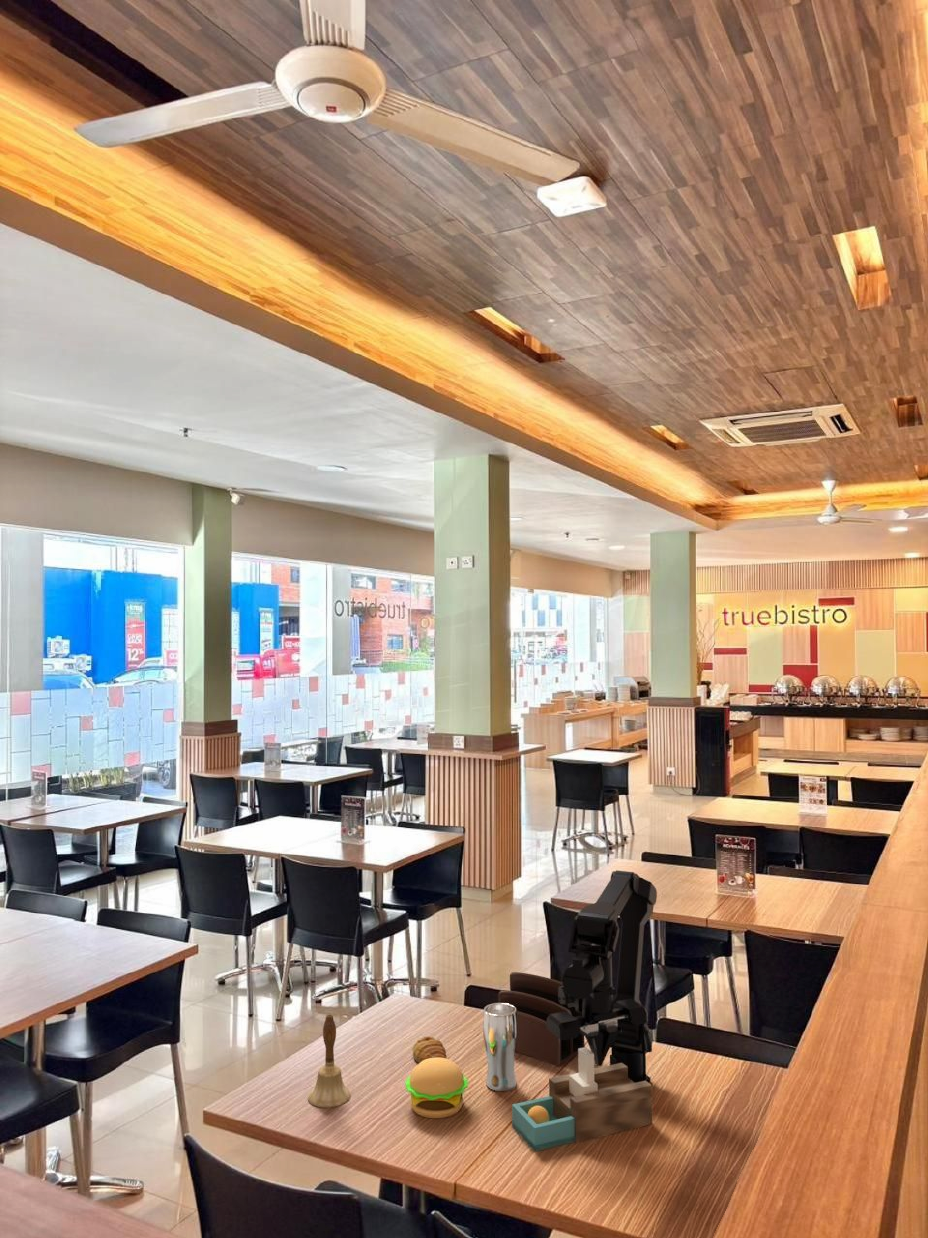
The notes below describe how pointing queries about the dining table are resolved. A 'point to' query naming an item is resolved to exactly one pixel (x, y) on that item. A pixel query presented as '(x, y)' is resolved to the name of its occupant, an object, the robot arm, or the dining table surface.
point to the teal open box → (542, 1125)
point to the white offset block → (583, 1074)
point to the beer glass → (500, 1045)
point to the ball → (538, 1114)
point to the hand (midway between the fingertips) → (598, 1065)
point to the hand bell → (329, 1074)
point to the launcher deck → (604, 1103)
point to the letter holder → (539, 1018)
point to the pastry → (428, 1049)
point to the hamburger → (436, 1088)
